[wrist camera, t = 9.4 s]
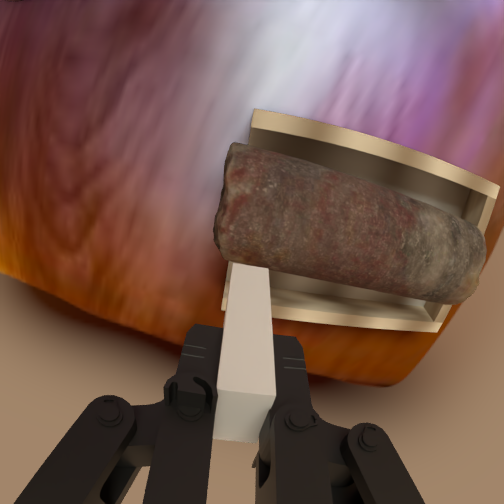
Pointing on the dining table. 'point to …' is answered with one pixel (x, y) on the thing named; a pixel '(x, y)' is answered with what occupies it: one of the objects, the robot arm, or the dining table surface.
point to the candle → (342, 229)
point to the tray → (381, 173)
